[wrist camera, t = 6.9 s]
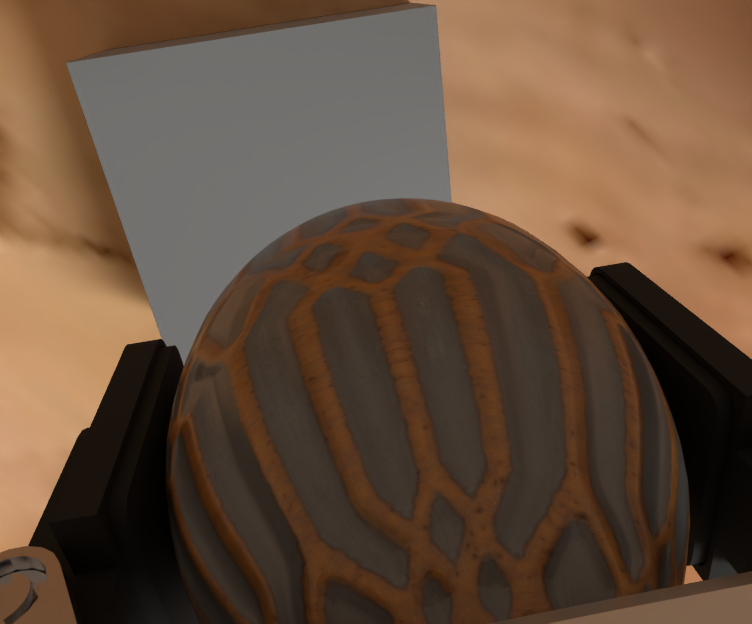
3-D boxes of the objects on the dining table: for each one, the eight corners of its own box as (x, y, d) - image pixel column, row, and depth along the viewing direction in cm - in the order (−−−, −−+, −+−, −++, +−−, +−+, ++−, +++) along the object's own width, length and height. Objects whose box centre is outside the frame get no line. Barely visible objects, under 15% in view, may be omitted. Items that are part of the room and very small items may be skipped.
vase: (133, 227, 11) (-227, 812, 3) (509, 98, 11) (1101, 378, 3) (277, 499, 14) (276, 1111, 6) (566, 403, 14) (919, 908, 6)
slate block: (411, 2, 26) (435, 5, 22) (437, 277, 32) (461, 322, 28) (104, 50, 26) (65, 62, 21) (190, 321, 32) (174, 374, 27)
